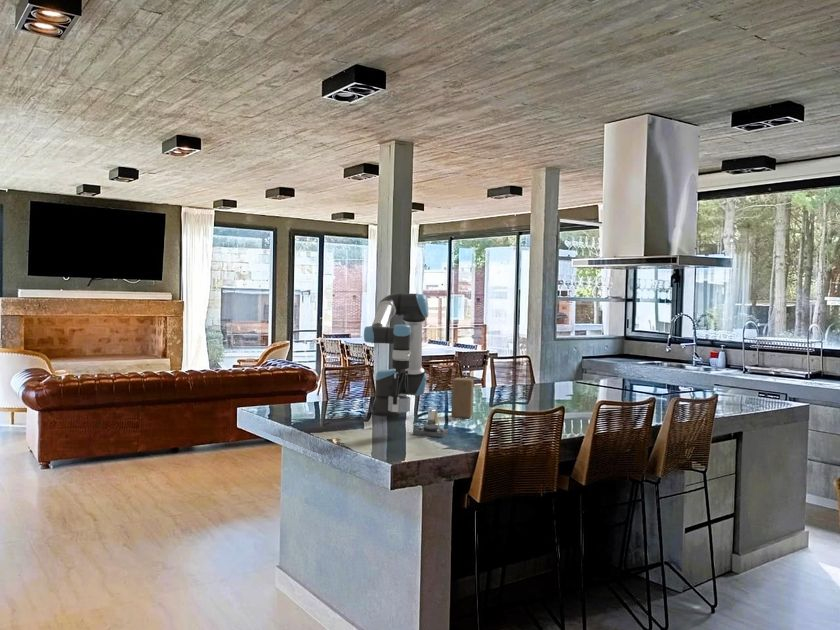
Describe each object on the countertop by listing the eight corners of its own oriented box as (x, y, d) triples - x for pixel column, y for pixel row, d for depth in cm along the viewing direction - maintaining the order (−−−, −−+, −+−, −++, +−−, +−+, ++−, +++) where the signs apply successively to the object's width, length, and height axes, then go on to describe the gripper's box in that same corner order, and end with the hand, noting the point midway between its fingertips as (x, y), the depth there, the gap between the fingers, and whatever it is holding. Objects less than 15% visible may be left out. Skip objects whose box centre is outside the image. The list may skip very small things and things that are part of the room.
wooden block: (470, 418, 367) (471, 380, 366) (451, 417, 369) (452, 379, 368) (472, 415, 377) (474, 378, 376) (453, 414, 379) (455, 377, 378)
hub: (385, 411, 312) (386, 397, 311) (393, 408, 320) (393, 394, 320) (405, 413, 309) (405, 399, 309) (411, 409, 317) (412, 396, 317)
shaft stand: (412, 434, 319) (413, 410, 318) (419, 430, 328) (420, 407, 328) (442, 437, 314) (443, 413, 314) (448, 433, 324) (449, 409, 323)
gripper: (400, 362, 302) (398, 414, 303) (416, 357, 323) (414, 407, 324) (384, 361, 304) (382, 413, 305) (401, 356, 325) (399, 405, 326)
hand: (399, 409), depth 315 cm, fingers closed on hub, 9 cm apart
